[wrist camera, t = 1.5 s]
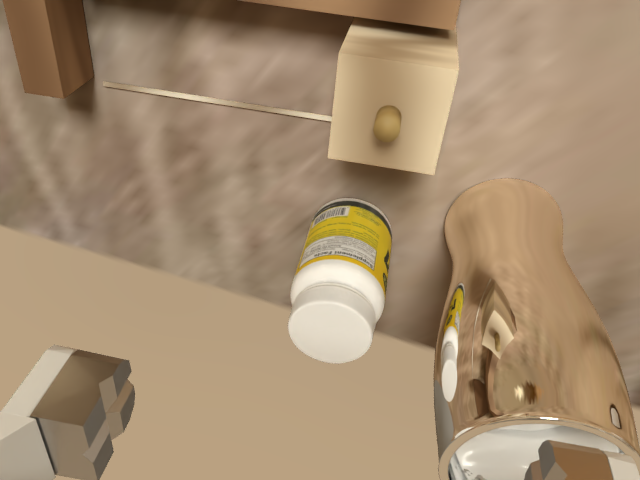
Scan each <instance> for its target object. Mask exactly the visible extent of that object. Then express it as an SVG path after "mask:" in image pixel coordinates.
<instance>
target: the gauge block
mask: <svg viewBox="0 0 640 480" xmlns="http://www.w3.org/2000/svg"><path fill="white" fill-rule="evenodd" d="M458 72H459V62H458V47H457V32H456V27H455V29H454V30H447V29H440V28H433V27H426V26H418V25H411V24H404V23H397V22H390V21H382V20H375V19H368V18H361V17H354V19H353V21H352V24H351V26H350V28H349V30H348V33H347V35H346V37H345V40H344V42H343V44H342V47H341V49H340V51H339V56H338V65H337V75H336V84H335V93H334V103H333V112H332V122H331V131H330V140H329V150H328V158H330V159H337V160H343V161H349V162H355V163H362V164H368V165H374V166H380V167H386V168H393V169H399V170H405V171H411V172H418V173H424V174H430V175H434V172H435V168H436V164H437V160H438V156H439V152H440V147H441V143H442V139H443V135H444V131H445V127H446V122H447V118H448V114H449V110H450V106H451V102H452V97H453V93H454V89H455V85H456V81H457V77H458Z"/></svg>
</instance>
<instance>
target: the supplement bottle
mask: <svg viewBox="0 0 640 480" xmlns="http://www.w3.org/2000/svg"><path fill="white" fill-rule="evenodd" d="M391 242H392V230H391V226H390V223H389V221H388V219H387V217H386V216H385V215H384V213H383V212H382V211H381V210H380V209H378V208H377V207H376V206H374V205H373V204H371V203H369V202H366V201H363V200H360V199H354V198H341V199H336V200H333V201H331V202H329V203H327V204H325V205H324V206H322V207H321V208H320V209H319V210H318V211H317V212H316V214H315V215H314V217H313V219H312V222H311V226H310V229H309V232H308V235H307V238H306V242H305V245H304V248H303V251H302V254H301V258H300V261H299V264H298V267H297V270H296V273H295V276H294V279H293V283H292V286H291V293H290V297H291V303H292V309H291V313H290V317H289V321H288V332H289V336H290V338H291V340H292V341H293V343H294V344H295V346H296V347H297V348H298V349H299V350H300V351H302V352H303V353H305V354H306V355H308V356H309V357H311V358H313V359H316V360H319V361H322V362H326V363H335V364H338V363H347V362H350V361H354V360H356V359H358V358H360V357H361V356H363V355H364V354H365V353H366V352H367V351H368V349H369V348H370V346H371V343H372V339H373V334H374V330H375V327H376V323H377V321H378V320H379V318H380V317H381V314H382V312H383V309H384V305H385V295H386V287H387V278H388V269H389V261H390V253H391Z"/></svg>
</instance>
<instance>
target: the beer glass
mask: <svg viewBox="0 0 640 480" xmlns="http://www.w3.org/2000/svg"><path fill="white" fill-rule="evenodd" d="M444 231H445V239H446V243H447V246H448V249H449V252H450V255H451V258H452V263H453V272H452V278H451V282H450V287H449V290H448V294H447V298H446V302H445V305H444V309H443V313H442V317H441V321H440V326H439V332H438V337H437V343H436V349H435V363H434V364H435V365H434V408H435V421H436V433H437V443H438V455H439V469H438V471H439V477H440V480H524V478H525V473H526V471H527V469H528V467H529V465H530V463H532V462H535V461H537V460H539V453H538V449H539V447H540V446H541V444H542V442H544V441H546V440H552V441H558V442H563V443H569V444H575V445H580V446H586V447H592V448H597V449H600V450H604V451H609V452H615V453H621V454H626V455H629V456H631V457H632V458H633V460H634V461H635V462H636V466H637V469H638V472H639V475H640V447H639V442H638V437H637V431H636V426H635V421H634V417H633V412H632V408H631V403H630V398H629V394H628V391H627V387H626V383H625V380H624V376H623V373H622V369H621V366H620V363H619V360H618V358H617V355H616V352H615V349H614V347H613V344H612V341H611V339H610V336H609V334H608V332H607V330H606V328H605V326H604V324H603V322H602V320H601V319H600V317H599V315H598V313H597V311H596V309H595V307H594V306H593V304H592V302H591V301H590V299H589V297H588V296H587V294H586V292H585V291H584V289H583V287H582V286H581V284H580V283H579V281H578V279H577V278H576V276H575V275H574V273H573V271H572V270H571V268H570V266H569V264H568V263H567V261H566V258H565V256H564V252H563V218H562V214H561V210H560V208H559V206H558V204H557V202H556V201H555V199H554V198H553V197H552V196H551V195H550V194H549V193H548V192H547V191H546V190H544V189H543V188H541V187H540V186H538V185H536V184H534V183H531V182H528V181H525V180H520V179H513V178H501V179H494V180H489V181H485V182H482V183H480V184H477V185H475V186H473V187H471V188H469V189H468V190H466V191H465V192H464V193H462V194H461V195H460V196H459V197H458V198H457V199H456V200H455V201H454V203H453V204H452V206H451V207H450V209H449V211H448V213H447V216H446V220H445V226H444Z"/></svg>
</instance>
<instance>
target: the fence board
mask: <svg viewBox="0 0 640 480" xmlns="http://www.w3.org/2000/svg"><path fill="white" fill-rule="evenodd" d="M239 1H246V2H253V3H260V4H267V5H275V6H282V7H289V8H296V9H303V10H311V11H318V12H325V13H332V14H339V15H346V16H354V17H361V18H368V19H375V20H382V21H390V22H397V23H404V24H411V25H418V26H426V27H433V28H440V29H447V30H454V29H455V24H456V20H457V16H458V11H459V7H460V2H461V0H239ZM3 4H4V8H5V12H6V16H7V20H8V24H9V29H10V33H11V37H12V41H13V45H14V49H15V53H16V58H17V62H18V66H19V70H20V74H21V78H22V82H23V87H24V91H25V93H31V94H37V95H43V96H50V97H56V98H62V99H64V98H66V97H67V96H68V95H70V94H71V93H72V92H74V91H75V90H76V89H78V88H79V87H80V86H82V85H83V84H84V83H86V82H87V81H89V80H90V79H91V78H93V77H94V72H93V66H92V60H91V54H90V48H89V41H88V35H87V29H86V23H85V16H84V10H83V4H82V0H3ZM103 86H106V87H112V88H119V89H125V90H132V91H138V92H144V93H151V94H157V95H164V96H170V97H177V98H183V99H189V100H196V101H202V102H209V103H215V104H222V105H228V106H234V107H241V108H247V109H254V110H260V111H267V112H273V113H279V114H286V115H292V116H299V117H305V118H312V119H318V120H324V121H331V122H332V116H326V115H320V114H313V113H307V112H301V111H294V110H288V109H281V108H275V107H268V106H262V105H255V104H249V103H242V102H236V101H229V100H223V99H217V98H210V97H204V96H197V95H191V94H184V93H178V92H171V91H165V90H158V89H152V88H145V87H139V86H133V85H126V84H120V83H113V82H107V81H103Z"/></svg>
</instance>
